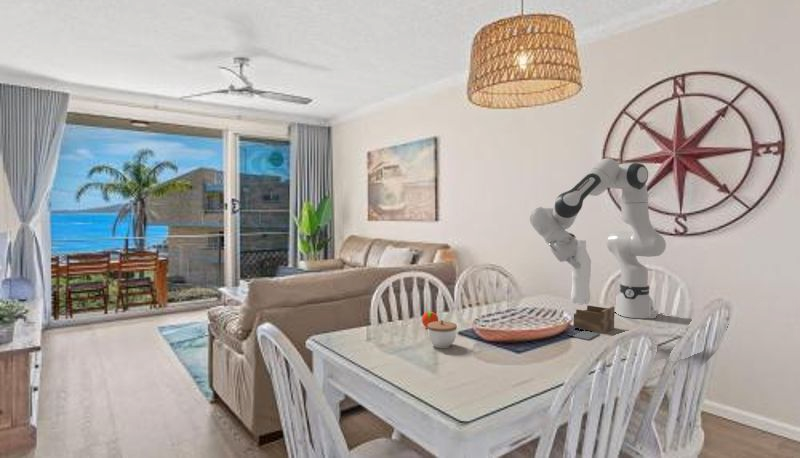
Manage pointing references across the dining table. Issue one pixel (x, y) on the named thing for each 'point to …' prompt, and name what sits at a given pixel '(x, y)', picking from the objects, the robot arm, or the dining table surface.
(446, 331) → the lidded jar
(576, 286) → the water bottle
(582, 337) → the mat
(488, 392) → the dining table surface
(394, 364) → the dining table surface
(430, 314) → the tomato
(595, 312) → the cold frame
